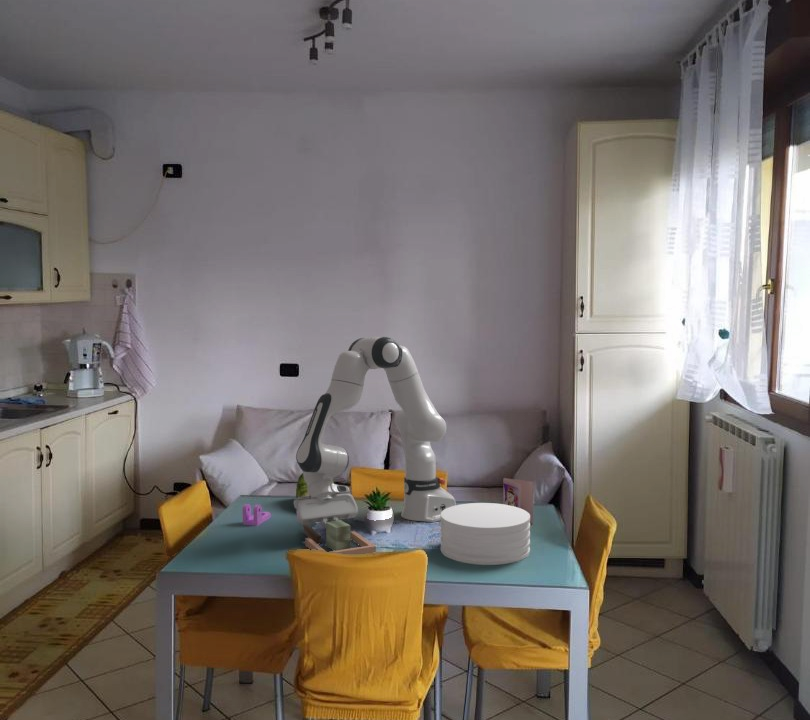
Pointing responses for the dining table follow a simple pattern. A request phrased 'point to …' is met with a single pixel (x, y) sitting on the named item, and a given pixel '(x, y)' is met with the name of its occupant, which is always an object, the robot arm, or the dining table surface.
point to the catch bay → (365, 548)
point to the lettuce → (302, 487)
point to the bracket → (254, 515)
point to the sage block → (338, 535)
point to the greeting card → (519, 495)
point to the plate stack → (485, 533)
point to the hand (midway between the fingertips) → (332, 531)
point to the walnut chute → (312, 534)
